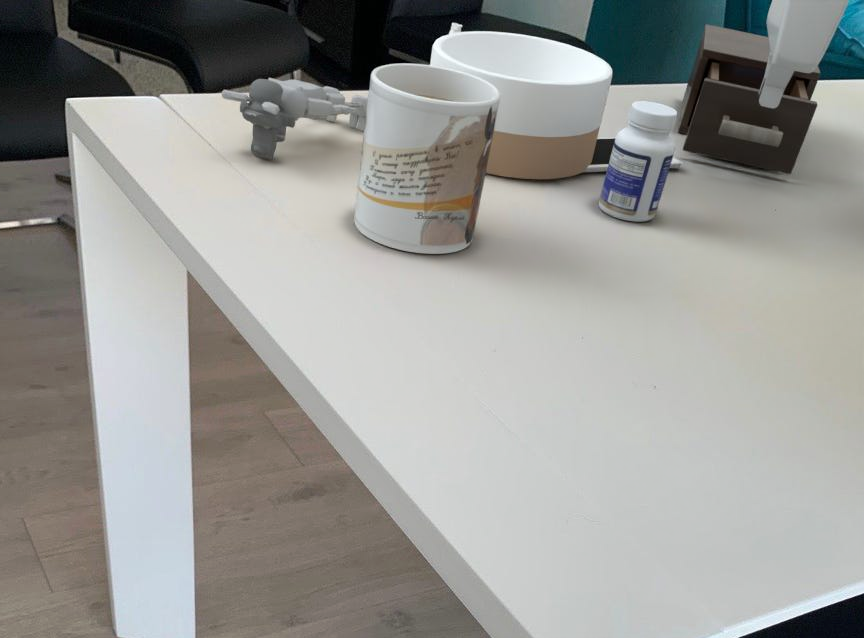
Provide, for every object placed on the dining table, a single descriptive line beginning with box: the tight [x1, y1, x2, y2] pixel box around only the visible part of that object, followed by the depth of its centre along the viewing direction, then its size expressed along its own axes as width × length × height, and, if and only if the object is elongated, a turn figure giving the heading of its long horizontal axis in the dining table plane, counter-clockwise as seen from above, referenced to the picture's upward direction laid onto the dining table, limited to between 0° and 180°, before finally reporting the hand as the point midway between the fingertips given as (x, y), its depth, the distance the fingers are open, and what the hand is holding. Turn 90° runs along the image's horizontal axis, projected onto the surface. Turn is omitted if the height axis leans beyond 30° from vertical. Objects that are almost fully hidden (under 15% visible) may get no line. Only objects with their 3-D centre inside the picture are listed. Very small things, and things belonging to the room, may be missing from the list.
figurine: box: [221, 77, 368, 160], centre depth 94 cm, size 7×6×18 cm
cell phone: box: [580, 136, 683, 174], centre depth 104 cm, size 8×16×1 cm, turn 118°
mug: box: [353, 62, 501, 255], centre depth 80 cm, size 10×12×11 cm
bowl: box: [429, 30, 613, 180], centre depth 99 cm, size 17×17×8 cm
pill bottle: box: [598, 100, 678, 223], centre depth 91 cm, size 5×5×9 cm
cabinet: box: [677, 24, 821, 136], centre depth 118 cm, size 15×13×9 cm
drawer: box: [682, 59, 819, 175], centre depth 108 cm, size 18×11×7 cm, turn 165°
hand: (766, 103), depth 94 cm, fingers closed
